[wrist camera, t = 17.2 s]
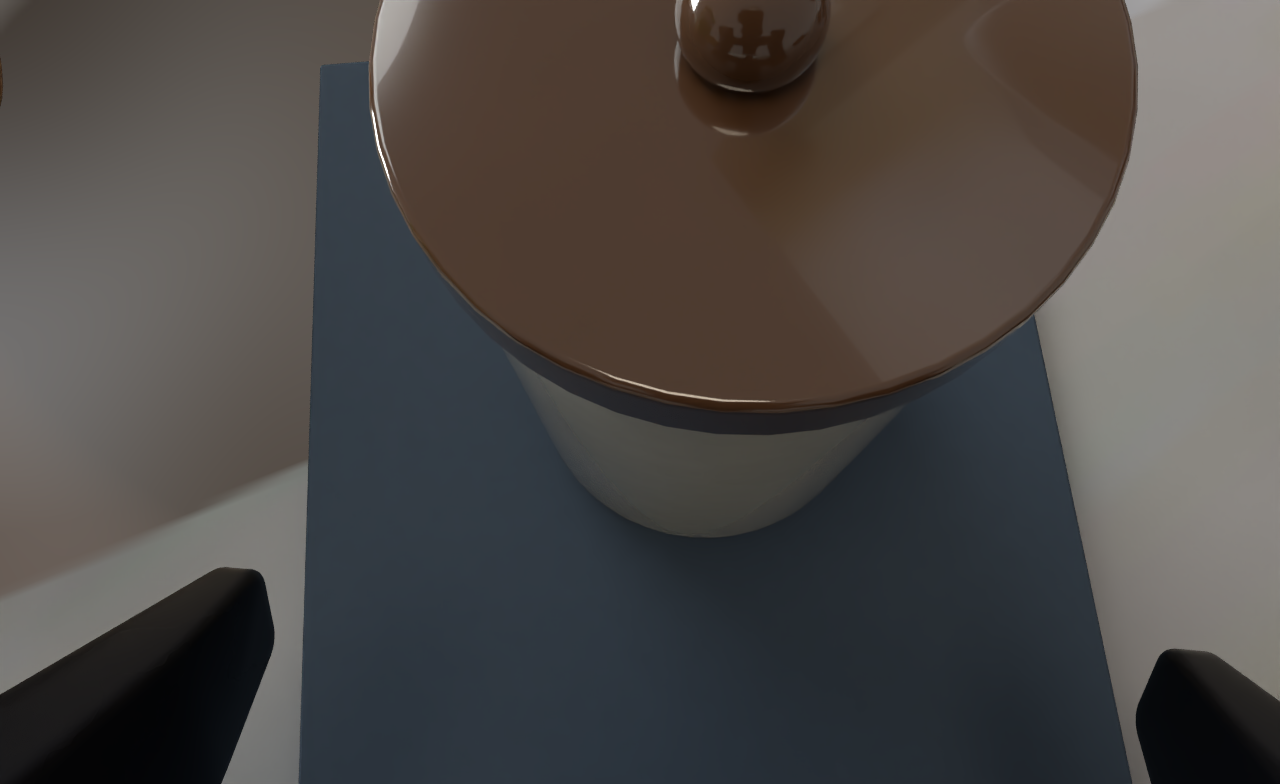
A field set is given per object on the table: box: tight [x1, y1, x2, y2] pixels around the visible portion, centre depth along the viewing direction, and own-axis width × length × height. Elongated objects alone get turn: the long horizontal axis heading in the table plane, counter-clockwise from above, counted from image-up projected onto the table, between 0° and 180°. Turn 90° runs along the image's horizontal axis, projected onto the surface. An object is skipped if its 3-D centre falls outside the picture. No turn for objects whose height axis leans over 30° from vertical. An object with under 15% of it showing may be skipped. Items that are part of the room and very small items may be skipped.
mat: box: [299, 61, 1132, 784], centre depth 15 cm, size 20×13×1 cm, turn 4°
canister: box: [369, 0, 1138, 538], centre depth 11 cm, size 6×6×10 cm
